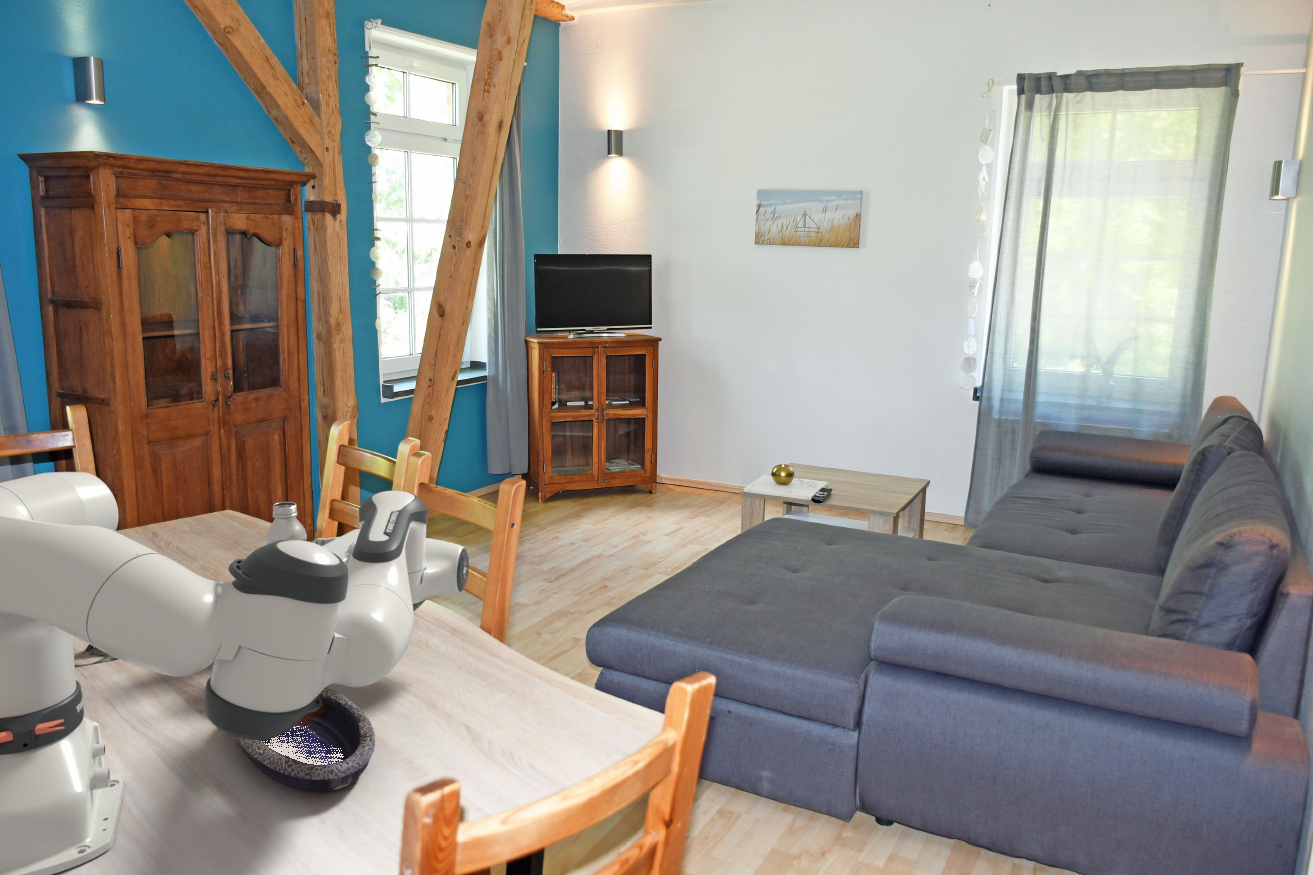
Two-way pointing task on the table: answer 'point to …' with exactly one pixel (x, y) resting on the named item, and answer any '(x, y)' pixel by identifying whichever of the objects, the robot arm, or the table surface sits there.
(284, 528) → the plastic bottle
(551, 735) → the table surface
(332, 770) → the dish
